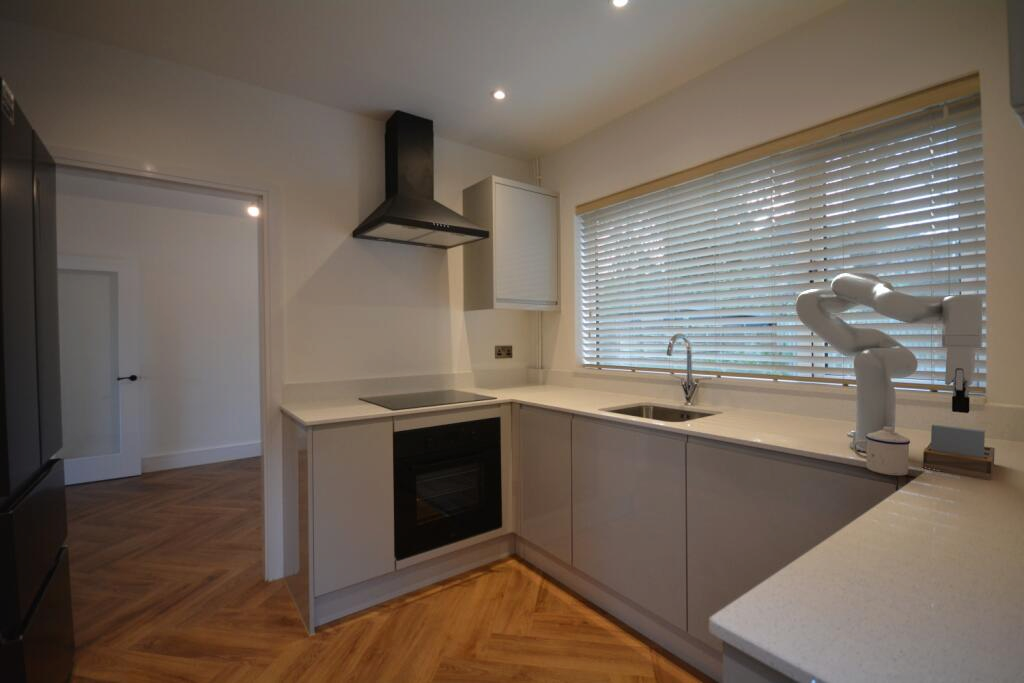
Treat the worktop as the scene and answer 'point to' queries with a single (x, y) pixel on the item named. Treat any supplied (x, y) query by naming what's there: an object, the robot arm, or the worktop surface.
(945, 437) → the panel
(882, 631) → the worktop surface
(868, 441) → the teacup with lid
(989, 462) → the rack
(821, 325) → the robot arm
